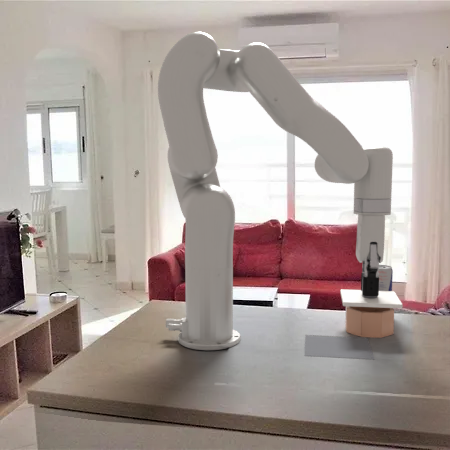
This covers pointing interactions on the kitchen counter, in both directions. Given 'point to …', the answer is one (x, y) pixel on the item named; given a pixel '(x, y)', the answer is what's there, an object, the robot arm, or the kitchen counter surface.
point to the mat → (338, 347)
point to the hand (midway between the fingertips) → (369, 292)
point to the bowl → (369, 321)
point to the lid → (370, 299)
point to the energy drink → (385, 278)
